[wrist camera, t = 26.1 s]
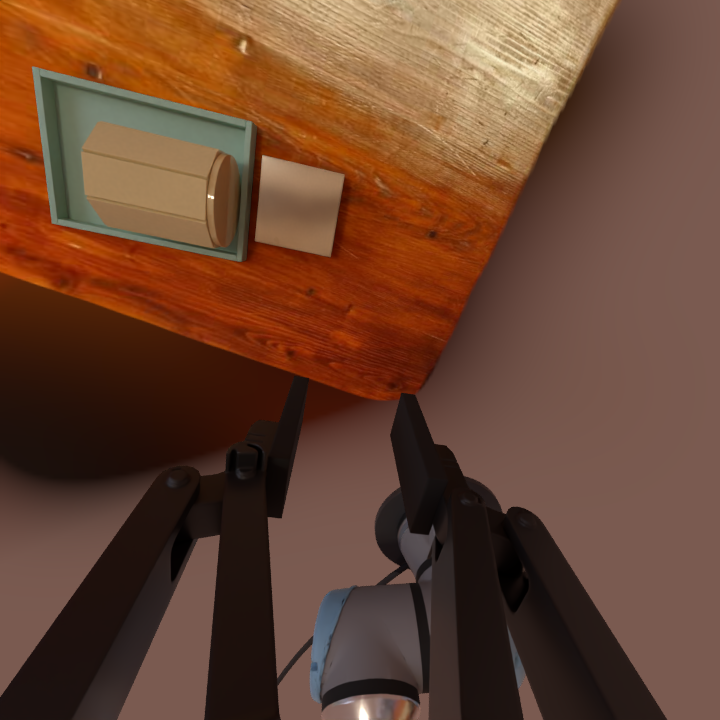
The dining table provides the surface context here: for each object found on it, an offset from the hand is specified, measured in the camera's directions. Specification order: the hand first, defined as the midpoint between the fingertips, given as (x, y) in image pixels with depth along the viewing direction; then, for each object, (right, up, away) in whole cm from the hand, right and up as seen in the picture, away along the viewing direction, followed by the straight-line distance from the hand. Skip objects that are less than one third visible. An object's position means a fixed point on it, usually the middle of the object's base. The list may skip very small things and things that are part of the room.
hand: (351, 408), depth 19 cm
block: (-6, +19, +19) cm, 28 cm away
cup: (-12, +18, +14) cm, 26 cm away
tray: (-21, +22, +17) cm, 35 cm away
